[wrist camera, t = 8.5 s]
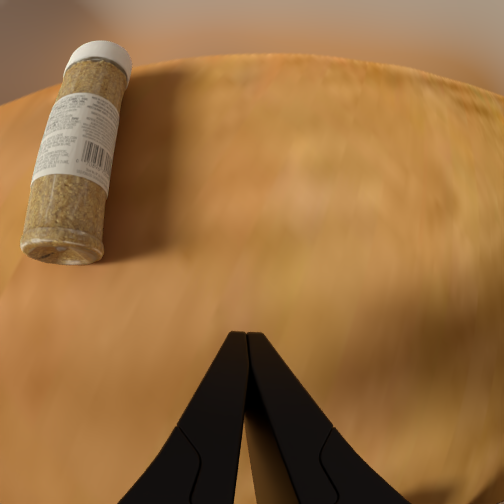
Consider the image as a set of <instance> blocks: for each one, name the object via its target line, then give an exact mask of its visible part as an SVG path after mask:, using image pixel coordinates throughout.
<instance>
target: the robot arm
mask: <svg viewBox="0 0 504 504" xmlns="http://www.w3.org/2000/svg"><path fill="white" fill-rule="evenodd" d="M243 423H245V430H246V437H247V443H248V450H249V457H250V463H251V470H252V476H253V482H254V489H255V495H256V501H257V504H411V503H410V502H409V501H407V500H406V499H405V498H404V497H403V496H401V495H400V494H399V493H398V492H397V491H396V490H395V489H394V488H393V487H391V486H390V485H389V484H388V483H387V482H386V481H385V480H384V479H383V478H382V477H381V476H379V475H378V474H377V473H376V472H375V471H374V470H373V469H372V468H371V467H370V466H369V465H368V464H367V463H366V462H365V461H364V460H363V459H362V458H361V457H360V456H359V455H358V454H357V453H356V452H355V451H354V450H353V448H352V447H351V446H350V445H349V444H348V443H347V441H346V440H345V439H344V438H343V437H342V435H341V434H340V433H339V432H338V430H337V429H336V428H335V427H333V424H332V423H331V422H330V420H329V419H328V418H327V416H326V415H325V414H324V413H323V411H322V410H321V409H320V408H319V406H318V405H317V404H316V402H315V401H314V400H313V399H312V397H311V396H310V395H309V393H308V392H307V391H306V389H305V388H304V387H303V386H302V384H301V383H300V382H299V380H298V379H297V378H296V376H295V375H294V374H293V372H292V371H291V370H290V368H289V367H288V366H287V364H286V363H285V362H284V360H283V359H282V358H281V356H280V355H279V354H278V352H277V351H276V350H275V348H274V347H273V346H272V344H271V343H270V342H269V340H268V339H267V338H266V336H265V335H264V334H263V333H261V332H248V333H247V334H246V333H245V332H241V331H231V332H229V334H228V335H227V337H226V339H225V341H224V343H223V344H222V346H221V348H220V350H219V351H218V353H217V355H216V357H215V358H214V360H213V362H212V364H211V365H210V367H209V369H208V371H207V372H206V374H205V376H204V378H203V379H202V381H201V383H200V385H199V386H198V388H197V390H196V392H195V393H194V395H193V397H192V399H191V400H190V402H189V404H188V406H187V407H186V409H185V411H184V412H183V414H182V416H181V418H180V419H179V421H178V423H177V426H176V427H175V428H174V429H173V431H172V433H171V434H170V436H169V438H168V439H167V441H166V442H165V444H164V446H163V447H162V449H161V450H160V452H159V453H158V455H157V456H156V458H155V459H154V460H153V461H152V463H151V464H150V465H149V467H148V468H147V469H146V471H145V472H144V473H143V474H142V475H141V477H140V478H139V479H138V480H137V481H136V483H135V484H134V485H133V486H132V487H131V488H130V490H129V491H128V492H127V493H126V494H125V495H124V496H123V498H122V499H121V500H120V501H119V502H118V503H117V504H234V496H235V488H236V480H237V472H238V464H239V456H240V448H241V440H242V432H243Z"/></svg>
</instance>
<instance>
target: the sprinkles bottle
mask: <svg viewBox="0 0 504 504" xmlns="http://www.w3.org/2000/svg"><path fill="white" fill-rule="evenodd" d="M131 70H132V61H131V57H130V55H129V54H128V52H127V51H126V50H125V49H124V48H123V47H121V46H119V45H118V44H116V43H113V42H109V41H92V42H89V43H86V44H84V45H82V46H81V47H79V48H78V49H77V50H76V51H75V52H74V53H73V54H72V56H71V58H70V60H69V62H68V64H67V67H66V69H65V71H64V75H63V83H62V85H61V88H60V91H59V93H58V96H57V98H56V102H55V104H54V106H53V108H52V111H51V113H50V116H49V119H48V122H47V126H46V129H45V132H44V135H43V139H42V142H41V145H40V149H39V153H38V156H37V160H36V164H35V168H34V173H33V177H32V182H31V192H30V196H29V202H28V207H27V213H26V218H25V225H24V231H23V235H22V237H21V240H20V247H21V250H22V251H23V253H25V254H26V255H27V256H28V257H30V258H32V259H35V260H39V261H42V262H45V263H52V264H60V265H87V264H91V263H94V262H95V261H99V260H100V259H101V258H102V256H103V254H104V246H103V243H102V235H103V224H104V212H105V201H106V199H107V198H108V191H109V183H110V175H111V168H112V162H113V155H114V148H115V142H116V137H117V131H118V125H119V114H120V108H121V102H122V98H123V94H124V92H125V90H126V88H127V87H128V84H129V80H130V75H131Z"/></svg>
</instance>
